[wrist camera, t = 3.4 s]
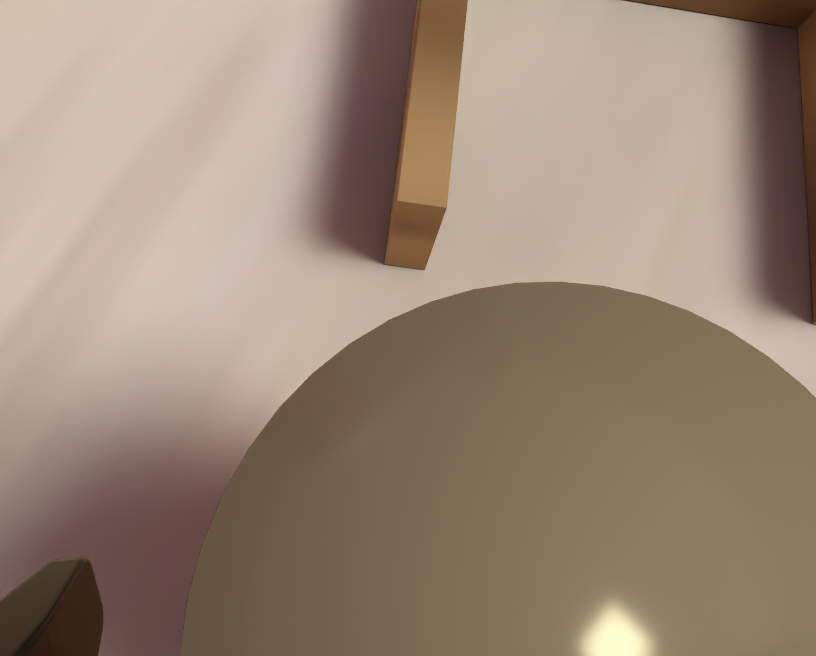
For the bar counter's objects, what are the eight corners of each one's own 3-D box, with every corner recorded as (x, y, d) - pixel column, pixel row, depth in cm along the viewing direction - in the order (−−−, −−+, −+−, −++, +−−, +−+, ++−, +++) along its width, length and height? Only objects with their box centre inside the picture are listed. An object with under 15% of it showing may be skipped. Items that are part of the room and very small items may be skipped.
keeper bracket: (850, 329, 20) (958, 282, 16) (384, 264, 19) (397, 200, 15) (829, 5, 23) (916, -91, 19) (424, -64, 22) (443, -176, 18)
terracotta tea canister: (573, 637, 17) (1106, 798, 5) (355, 782, 16) (447, 1398, 4) (447, 421, 18) (669, 175, 6) (235, 541, 17) (42, 498, 5)
